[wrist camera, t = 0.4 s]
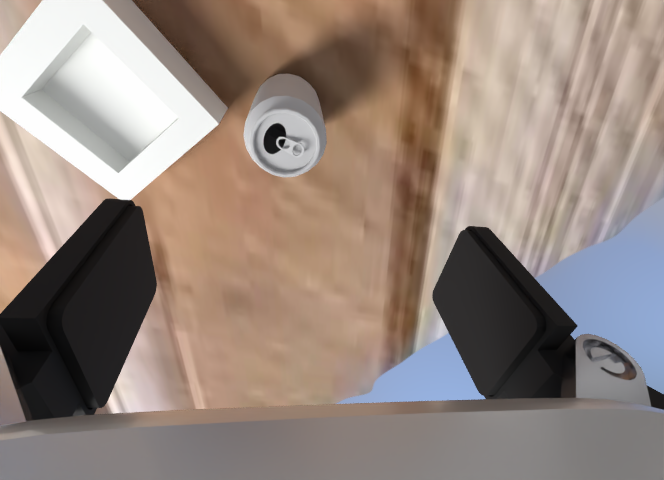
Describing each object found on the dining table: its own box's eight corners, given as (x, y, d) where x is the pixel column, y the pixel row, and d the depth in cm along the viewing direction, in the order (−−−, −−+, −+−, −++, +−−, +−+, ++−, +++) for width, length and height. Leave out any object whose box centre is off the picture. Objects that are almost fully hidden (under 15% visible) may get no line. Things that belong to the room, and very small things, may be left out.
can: (266, 59, 35) (256, 84, 25) (330, 89, 37) (342, 123, 28) (246, 124, 39) (231, 167, 29) (305, 148, 41) (308, 195, 32)
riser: (105, -31, 30) (69, -35, 25) (228, 107, 38) (218, 124, 33) (17, 76, 34) (-27, 90, 29) (144, 179, 42) (125, 203, 37)
